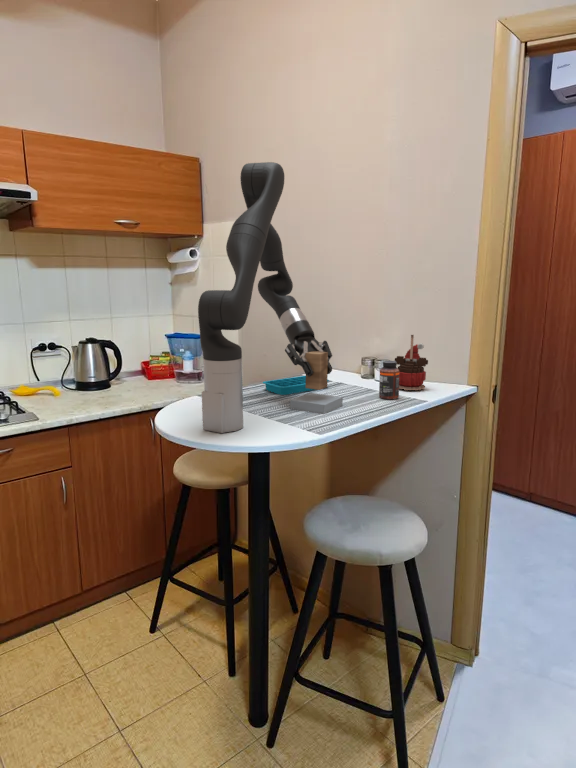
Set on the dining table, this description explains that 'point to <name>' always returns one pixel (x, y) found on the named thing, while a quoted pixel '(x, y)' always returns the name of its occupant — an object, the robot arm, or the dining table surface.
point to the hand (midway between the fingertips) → (320, 373)
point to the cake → (412, 368)
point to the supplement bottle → (389, 381)
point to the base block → (316, 403)
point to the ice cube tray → (288, 385)
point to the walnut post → (317, 370)
